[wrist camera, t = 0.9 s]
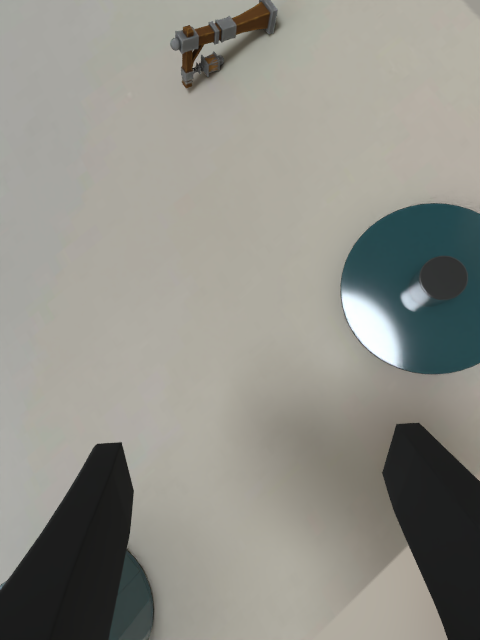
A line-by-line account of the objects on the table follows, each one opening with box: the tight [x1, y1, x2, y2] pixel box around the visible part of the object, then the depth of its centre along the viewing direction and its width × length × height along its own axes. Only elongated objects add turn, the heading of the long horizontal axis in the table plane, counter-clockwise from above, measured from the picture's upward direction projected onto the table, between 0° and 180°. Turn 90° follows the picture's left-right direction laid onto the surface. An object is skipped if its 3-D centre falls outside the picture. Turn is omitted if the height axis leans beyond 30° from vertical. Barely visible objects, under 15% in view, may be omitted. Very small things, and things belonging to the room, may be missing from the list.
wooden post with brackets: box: [170, 0, 278, 88], centre depth 30 cm, size 2×8×4 cm, turn 122°
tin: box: [0, 550, 154, 640], centre depth 29 cm, size 10×10×6 cm
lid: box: [341, 203, 480, 374], centre depth 24 cm, size 11×11×5 cm
